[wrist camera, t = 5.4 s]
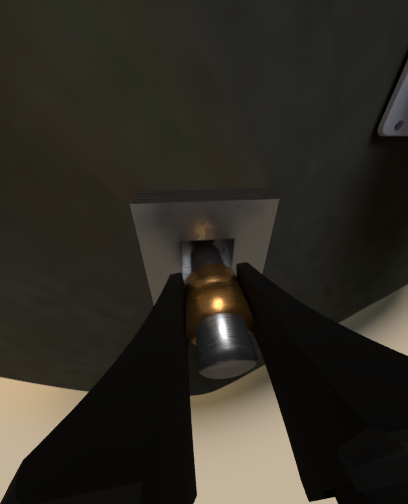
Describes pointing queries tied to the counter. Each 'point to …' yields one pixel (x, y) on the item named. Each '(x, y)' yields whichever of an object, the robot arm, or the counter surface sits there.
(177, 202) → the block
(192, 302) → the amber medicine bottle
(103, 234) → the counter surface
